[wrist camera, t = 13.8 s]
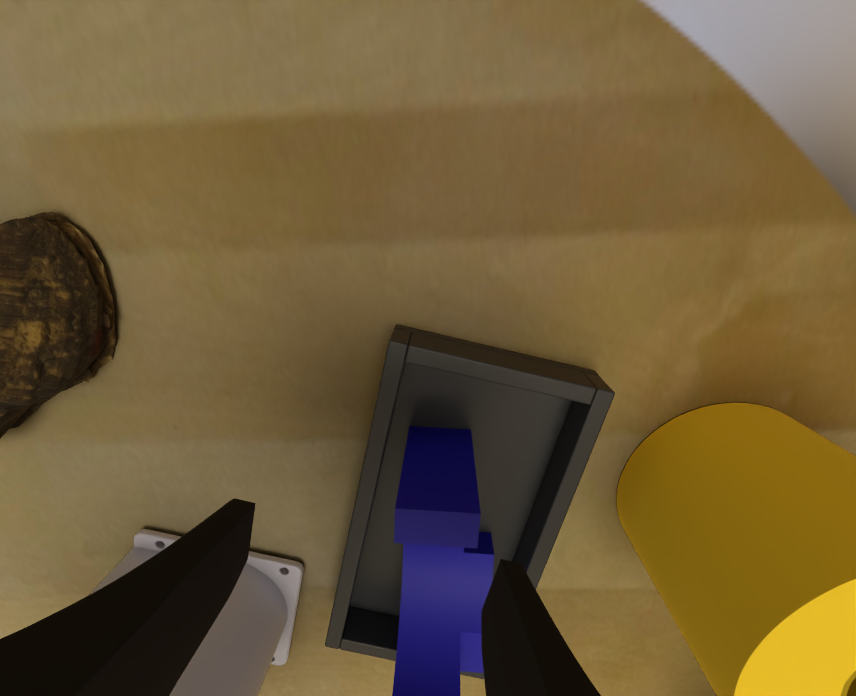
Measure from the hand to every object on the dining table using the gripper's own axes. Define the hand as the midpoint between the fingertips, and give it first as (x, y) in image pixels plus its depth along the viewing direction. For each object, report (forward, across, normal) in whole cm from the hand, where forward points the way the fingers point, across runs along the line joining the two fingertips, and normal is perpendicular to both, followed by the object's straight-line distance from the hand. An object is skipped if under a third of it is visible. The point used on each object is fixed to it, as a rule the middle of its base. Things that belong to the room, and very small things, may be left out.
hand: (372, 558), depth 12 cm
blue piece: (+9, -4, +6) cm, 11 cm away
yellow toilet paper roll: (+10, -16, 0) cm, 19 cm away
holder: (+9, -4, +4) cm, 11 cm away
